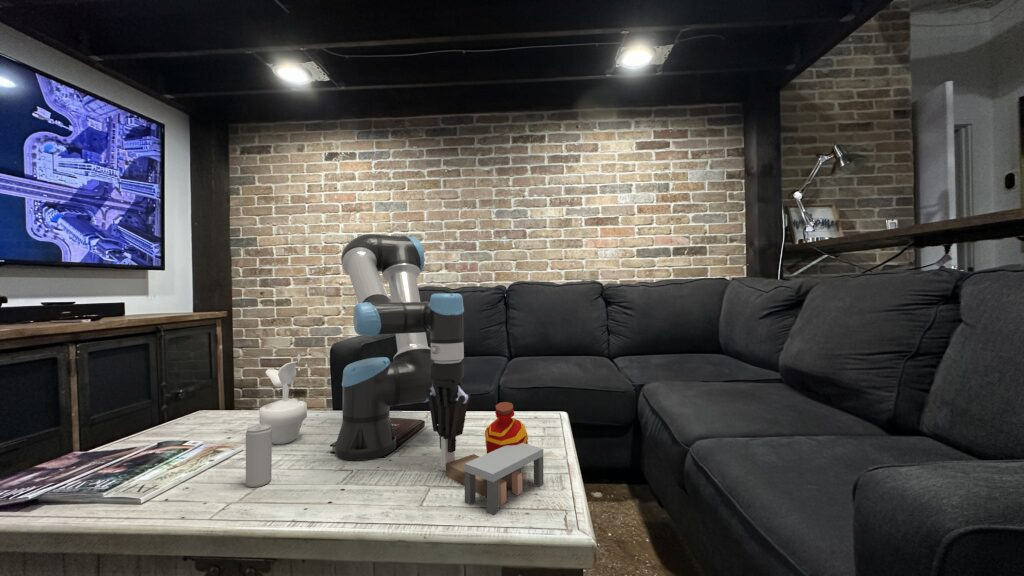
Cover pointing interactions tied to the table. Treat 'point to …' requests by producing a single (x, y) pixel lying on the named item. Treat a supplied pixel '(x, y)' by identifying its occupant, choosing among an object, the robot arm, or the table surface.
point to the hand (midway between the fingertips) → (447, 465)
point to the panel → (457, 473)
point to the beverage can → (258, 455)
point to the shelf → (502, 472)
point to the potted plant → (284, 406)
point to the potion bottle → (504, 429)
